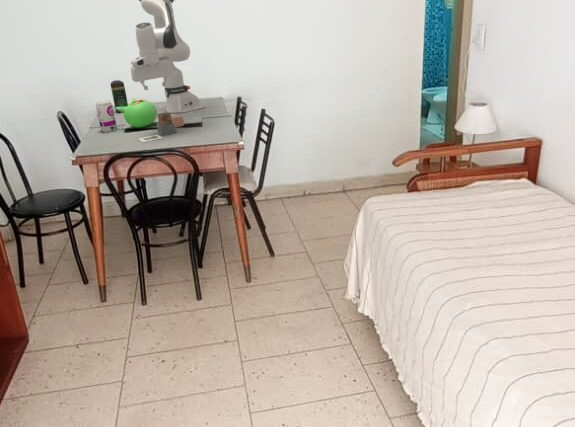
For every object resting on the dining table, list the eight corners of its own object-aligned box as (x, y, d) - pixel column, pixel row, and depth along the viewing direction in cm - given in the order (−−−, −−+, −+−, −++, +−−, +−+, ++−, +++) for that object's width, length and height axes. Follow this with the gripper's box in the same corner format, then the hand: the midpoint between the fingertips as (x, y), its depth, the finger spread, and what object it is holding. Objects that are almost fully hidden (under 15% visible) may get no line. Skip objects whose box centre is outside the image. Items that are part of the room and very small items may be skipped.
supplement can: (120, 128, 279) (114, 100, 273) (111, 132, 272) (104, 104, 266) (107, 128, 282) (101, 100, 275) (98, 132, 275) (91, 104, 268)
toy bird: (145, 131, 269) (140, 102, 263) (118, 130, 275) (112, 102, 269) (164, 122, 284) (160, 95, 278) (138, 121, 290) (133, 95, 284)
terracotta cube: (180, 124, 278) (179, 114, 276) (184, 125, 274) (182, 116, 272) (171, 125, 276) (170, 116, 274) (175, 127, 272) (173, 118, 270)
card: (157, 135, 259) (157, 134, 259) (162, 138, 253) (162, 137, 253) (137, 139, 255) (137, 138, 255) (142, 142, 249) (142, 141, 248)
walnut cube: (168, 122, 263) (166, 112, 261) (172, 123, 259) (170, 113, 257) (159, 123, 261) (157, 114, 259) (162, 125, 257) (160, 115, 255)
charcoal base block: (171, 130, 266) (169, 121, 264) (176, 133, 261) (174, 123, 259) (158, 133, 263) (156, 123, 261) (162, 136, 257) (160, 126, 255)
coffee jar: (129, 111, 316) (123, 80, 309) (116, 113, 314) (109, 82, 307) (128, 109, 325) (122, 78, 317) (115, 110, 323) (109, 80, 315)
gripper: (168, 55, 257) (172, 83, 263) (127, 61, 248) (133, 90, 254) (172, 56, 252) (177, 84, 258) (131, 63, 243) (137, 92, 249)
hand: (155, 87), depth 256 cm, fingers open, 8 cm apart
